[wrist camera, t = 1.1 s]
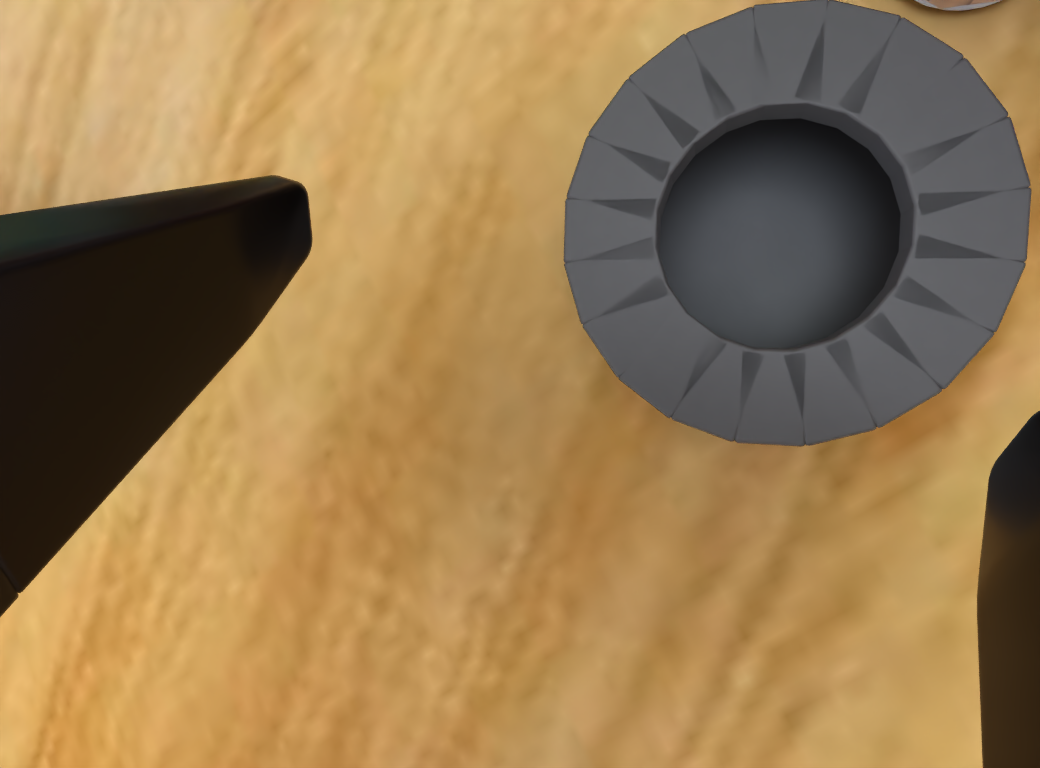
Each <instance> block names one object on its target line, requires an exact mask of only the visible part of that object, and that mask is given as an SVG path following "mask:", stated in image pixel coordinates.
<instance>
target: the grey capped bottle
mask: <svg viewBox="0 0 1040 768" xmlns="http://www.w3.org/2000/svg"><path fill="white" fill-rule="evenodd" d="M915 1H917V2H919V3H921V4H923V5H925V6H928V7H933V8H937V9H942V10H970V9H976V8H981V7H985V6H988V5H991V4H994V3H997V2H1000V1H1002V0H915Z"/></svg>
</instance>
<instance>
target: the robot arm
mask: <svg viewBox="0 0 1040 768" xmlns="http://www.w3.org/2000/svg"><path fill="white" fill-rule="evenodd" d="M311 247H312V229H311V220H310V210H309V200H308V193H307V191H306V188H305V187H304V186H303V185H302V184H301V183H299V182H297V181H294V180H290V179H287V178H284V177H281V176H276V175H271V176H264V177H257V178H250V179H244V180H237V181H230V182H223V183H216V184H210V185H203V186H196V187H189V188H182V189H175V190H169V191H162V192H155V193H148V194H141V195H135V196H128V197H121V198H114V199H107V200H101V201H94V202H87V203H80V204H73V205H67V206H60V207H53V208H46V209H39V210H32V211H26V212H19V213H12V214H5V215H0V617H1V616H2V615H3V613H4V612H5V611H6V610H7V609H8V608H9V607H10V606H11V604H12V603H13V602H14V601H15V600H16V599H17V598H18V593H21V592H22V591H23V590H24V589H25V588H26V587H27V586H28V585H29V584H30V583H31V581H32V580H33V579H34V578H35V577H36V576H37V575H38V574H39V572H40V571H41V570H42V569H43V568H44V567H45V566H46V565H47V564H48V562H49V561H50V560H51V559H52V558H53V557H54V556H55V555H56V554H57V552H58V551H59V550H60V549H61V548H62V547H63V546H64V545H65V543H66V542H67V541H68V540H69V539H70V538H71V537H72V536H73V535H74V533H75V532H76V531H77V530H78V529H79V528H80V527H81V526H82V524H83V523H84V522H85V521H86V520H87V519H88V518H89V517H90V516H91V514H92V513H93V512H94V511H95V510H96V509H97V508H98V507H99V505H100V504H101V503H102V502H103V501H104V500H105V499H106V498H107V497H108V495H109V494H110V493H111V492H112V491H113V490H114V489H115V488H116V487H117V485H118V484H119V483H120V482H121V481H122V480H123V479H124V478H125V476H126V475H127V474H128V473H129V472H130V471H131V470H132V469H133V468H134V466H135V465H136V464H137V463H138V462H139V461H140V460H141V459H142V457H143V456H144V455H145V454H146V453H147V452H148V451H149V450H150V449H151V447H152V446H153V445H154V444H155V443H156V442H157V441H158V440H159V438H160V437H161V436H162V435H163V434H164V433H165V432H166V431H167V430H168V428H169V427H170V426H171V425H172V424H173V423H174V422H175V421H176V419H177V418H178V417H179V416H180V415H181V414H182V413H183V412H184V411H185V409H186V408H187V407H188V406H189V405H190V404H191V403H192V402H193V401H194V399H195V398H196V397H197V396H198V395H199V394H200V393H201V392H202V390H203V389H204V388H205V387H206V386H207V385H208V384H209V383H210V382H211V380H212V379H213V378H214V377H215V376H216V375H217V374H218V373H219V371H220V370H221V369H222V368H223V367H224V366H225V365H226V364H227V363H228V361H229V360H230V359H231V358H232V357H233V356H234V355H235V354H236V352H237V351H238V350H239V349H240V348H241V347H242V346H243V345H244V343H245V342H246V341H247V340H248V339H249V337H250V336H251V335H252V334H253V332H254V331H255V330H256V328H257V327H258V326H259V324H260V323H261V322H262V320H263V319H264V318H265V316H266V315H267V313H268V312H269V311H270V309H271V308H272V306H273V305H274V304H275V302H276V301H277V299H278V298H279V297H280V295H281V294H282V292H283V291H284V289H285V288H286V287H287V285H288V284H289V282H290V281H291V280H292V278H293V277H294V275H295V274H296V273H297V271H298V270H299V268H300V267H301V266H302V264H303V263H304V261H305V260H306V259H307V257H308V255H309V253H310V250H311ZM977 624H978V651H979V677H980V704H981V731H982V758H983V768H1040V411H1038V412H1037V413H1036V414H1034V415H1033V416H1032V417H1031V418H1030V419H1029V420H1028V421H1027V423H1026V424H1025V425H1024V426H1023V428H1022V429H1021V430H1020V431H1019V433H1018V434H1017V435H1016V436H1015V438H1014V439H1013V440H1012V441H1011V443H1010V444H1009V445H1008V446H1007V448H1006V449H1005V450H1004V451H1003V453H1002V454H1001V455H1000V456H999V458H998V459H997V460H996V462H995V464H994V466H993V468H992V470H991V473H990V477H989V482H988V492H987V501H986V511H985V520H984V530H983V539H982V549H981V558H980V568H979V577H978V591H977Z"/></svg>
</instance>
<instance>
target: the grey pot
mask: <svg viewBox="0 0 1040 768" xmlns="http://www.w3.org/2000/svg"><path fill="white" fill-rule="evenodd" d="M1007 116H1008V112H1007V111H1006V109H1005V108H1004V107H1003V106H1002V104H1001V103H1000V102H999V100H998V99H997V98H996V96H995V95H994V94H993V92H992V91H991V90H990V89H989V87H988V86H987V85H986V83H985V82H984V81H983V79H982V78H981V77H980V76H979V74H978V73H977V72H976V70H975V69H974V68H973V66H972V65H971V64H970V63H969V61H968V60H967V59H965V58H964V59H963V55H962V54H961V53H959V52H958V51H956V50H955V49H953V48H952V47H950V46H948V45H947V44H945V43H944V42H942V41H940V40H939V39H937V38H936V37H934V36H932V35H931V34H929V33H928V32H926V31H924V30H923V29H921V28H920V27H918V26H917V25H915V24H913V23H912V22H910V21H909V20H907V19H905V18H901V17H900V16H899V15H895V14H891V13H887V12H882V11H878V10H874V9H869V8H865V7H861V6H856V5H852V4H848V3H843V2H839V1H835V0H829V1H828V0H808V1H796V2H784V3H773V4H761V5H754V7H753V8H752V7H750V8H747V9H745V10H742V11H739V12H737V13H734V14H732V15H729V16H727V17H724V18H722V19H719V20H717V21H714V22H712V23H709V24H707V25H704V26H702V27H699V28H697V29H694V30H692V31H689V32H688V33H686V35H685V34H683V35H681V36H680V37H679V38H677V39H676V40H675V41H674V42H672V43H671V44H670V45H669V46H667V47H666V48H665V49H663V50H662V51H661V52H660V53H658V54H657V55H656V56H655V57H653V58H652V59H651V60H649V61H648V62H647V63H646V64H644V65H643V66H642V67H641V68H639V69H638V70H637V71H635V72H634V73H633V74H632V75H630V77H629V79H627V80H626V81H625V82H624V84H623V85H622V87H621V88H620V89H619V91H618V92H617V94H616V95H615V96H614V98H613V99H612V101H611V102H610V103H609V105H608V106H607V108H606V109H605V110H604V112H603V113H602V115H601V116H600V117H599V119H598V120H597V122H596V123H595V124H594V126H593V127H592V129H591V130H590V131H589V136H588V137H587V138H586V140H585V143H584V146H583V149H582V152H581V155H580V158H579V161H578V163H577V166H576V169H575V172H574V175H573V178H572V181H571V184H570V187H569V190H568V193H567V199H566V201H565V235H564V262H565V264H564V266H565V270H566V273H567V277H568V280H569V284H570V287H571V291H572V294H573V297H574V301H575V304H576V308H577V311H578V315H579V318H580V322H581V324H583V328H584V329H585V331H586V332H587V334H588V335H589V337H590V338H591V340H592V341H593V343H594V344H595V346H596V347H597V349H598V350H599V352H600V353H601V355H602V356H603V357H604V359H605V360H606V362H607V363H608V365H609V366H610V368H611V369H612V371H613V372H614V374H615V375H616V376H617V377H619V380H620V381H622V382H623V383H624V384H625V385H627V386H628V387H629V388H631V389H632V390H633V391H634V392H636V393H637V394H638V395H640V396H641V397H642V398H643V399H645V400H646V401H647V402H649V403H650V404H651V405H652V406H654V407H655V408H656V409H658V410H659V411H660V412H661V413H663V414H664V415H665V416H667V417H668V418H672V419H673V420H674V421H677V422H680V423H682V424H685V425H688V426H690V427H693V428H696V429H698V430H701V431H704V432H707V433H709V434H712V435H715V436H717V437H720V438H723V439H725V440H728V441H734V440H735V442H737V443H748V444H766V445H783V446H804V445H805V444H806V445H808V446H811V445H815V444H819V443H823V442H827V441H831V440H836V439H840V438H844V437H848V436H852V435H856V434H860V433H865V432H869V431H873V430H875V429H876V427H878V428H880V427H883V426H884V425H886V424H888V423H889V422H891V421H893V420H895V419H896V418H898V417H900V416H901V415H903V414H905V413H906V412H908V411H910V410H912V409H913V408H915V407H917V406H918V405H920V404H922V403H923V402H925V401H927V400H929V399H930V398H932V397H934V396H935V395H937V394H939V393H940V392H941V391H942V389H945V388H947V387H948V385H949V384H950V383H951V382H952V381H953V380H954V379H955V378H956V377H957V376H958V374H959V373H960V372H961V371H962V370H963V369H964V368H965V367H966V366H967V364H968V363H969V362H970V361H971V360H972V359H973V358H974V357H975V356H976V354H977V353H978V352H979V351H980V350H981V349H982V348H983V347H984V346H985V344H986V343H987V342H988V341H989V340H990V339H991V338H992V337H993V335H994V332H996V331H997V329H998V327H999V325H1000V323H1001V320H1002V318H1003V316H1004V313H1005V311H1006V309H1007V306H1008V304H1009V302H1010V300H1011V297H1012V295H1013V293H1014V290H1015V288H1016V286H1017V284H1018V281H1019V279H1020V277H1021V274H1022V272H1023V270H1024V268H1025V261H1026V259H1027V246H1028V231H1029V217H1030V203H1031V188H1028V187H1029V186H1030V181H1029V177H1028V174H1027V171H1026V167H1025V164H1024V160H1023V157H1022V154H1021V150H1020V147H1019V144H1018V140H1017V137H1016V134H1015V130H1014V127H1013V124H1012V120H1011V118H1010V117H1007Z"/></svg>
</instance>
